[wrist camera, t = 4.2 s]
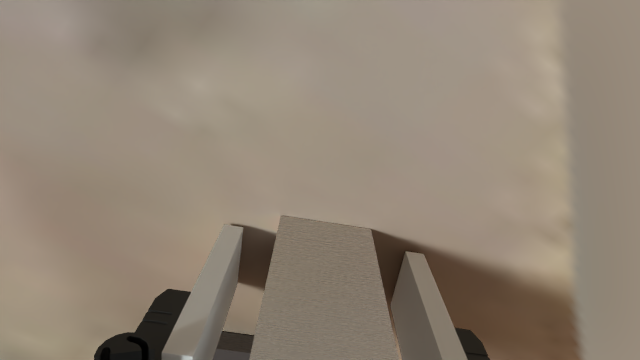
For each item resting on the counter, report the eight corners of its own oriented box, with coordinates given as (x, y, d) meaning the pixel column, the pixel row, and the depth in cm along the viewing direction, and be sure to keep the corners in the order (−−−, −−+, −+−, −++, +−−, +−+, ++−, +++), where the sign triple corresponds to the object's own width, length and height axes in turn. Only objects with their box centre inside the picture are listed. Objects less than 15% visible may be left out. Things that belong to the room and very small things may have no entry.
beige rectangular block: (280, 215, 16) (218, 498, 7) (370, 228, 16) (434, 523, 7) (270, 290, 17) (206, 611, 8) (353, 301, 17) (386, 629, 8)
